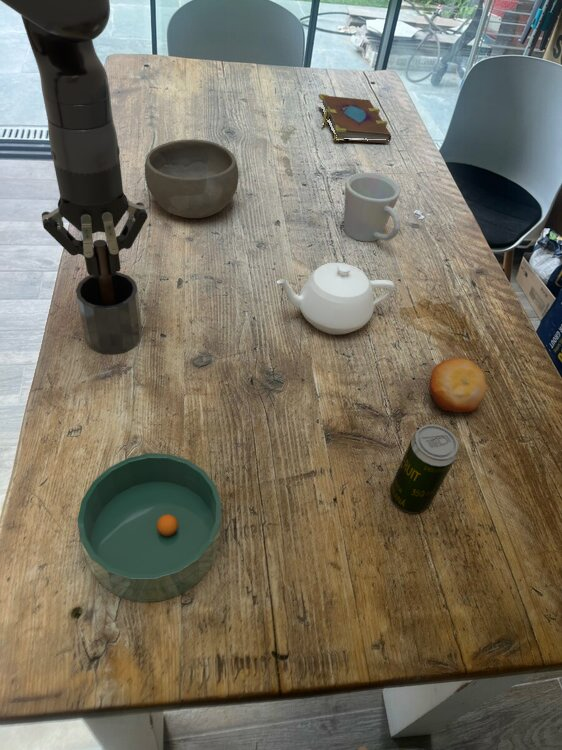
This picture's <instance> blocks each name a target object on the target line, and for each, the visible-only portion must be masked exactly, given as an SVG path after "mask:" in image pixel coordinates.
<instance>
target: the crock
mask: <svg viewBox="0 0 562 750" xmlns="http://www.w3.org/2000/svg"><path fill="white" fill-rule="evenodd" d="M116 274H117V276H112V283H113V290H114V297H115V304H116V305H112V306H103V304H102V297H101V291H100V285H99V279H98V278H94V276H93V275H89V274H88V275H87V276H86V277H84V278H83V279H82V280H81V281H79V282H78V284H77V286H76V288H75V295H76V299H77V305H78V309H79V315H80V319H81V325H82V329H83V335H84V340H85V343H86V344H87V346H88V347H89V348H90V349H91V350H93V351H95V352H96V353H99V354H103V355H120V354H123V353H127V352H129V351H131V350H132V349H134V348H135V347H137V346H138V344H139V343H140V342H141V339H142V335H143V327H142V318H141V309H140V299H139V298H140V297H139V291H138V286H137V285H138V284H137V283H136V281H135V280H134V279H133V278H132V277H131V276H130V275H127V274H125V273H122V272H120V271H118V272H116Z"/></svg>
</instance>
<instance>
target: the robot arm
mask: <svg viewBox="0 0 562 750" xmlns="http://www.w3.org/2000/svg"><path fill="white" fill-rule="evenodd" d="M0 2H1V3H3V4H5V5H6V6H7V7H9V8H10V9H11V10H13V11H15V12H16V13H18V14H19V15H20V16H21V20H22V23H23V26H24V29H25V33H26V37H27V39H28V43H29V45H30V48H31V51H32V54H33V57H34V59H35V62H36V65H37V69H38V73H39V79H40V86H41V92H42V93H41V94H42V98H43V103H44V108H45V113H46V119H47V131H48V132H47V133H48V140H49V147H50V156H51V158H52V162H53V167H54V173H55V177H56V181H57V182H56V183H57V186H58V193H59V199H58V202H57V208H55V209H54V210H52V211H43V212H42V213H41V222H42V226H43V230H45V231H46V232H47V233H48V234H49V235H50V236H51V237H52V238H53V239H54V240H55V241H56V242H57V243H58V244H59V245H60V246H61V247H62V248H63V249H64V250H65V251H66V252H67V253H68V254H69V255H71V256H73V257H74V256H77V255H82V256H83V257H84V261H85V268H86V272H87V274H88V276H89V275H93V276H94V278H99V273H98V267H97V261H96V256H95V253H94V248H93V242H94V239H93V234H96V233H104V235H105V239H106V240H105V241H106V242H107V247H108V257H109V264H110V271H111V276H117V274H116V272H120V271H121V269H122V268H121V260H120V251H121V250H124V249H125V250H129V249H131V248H132V247H133V244H134V243H135V241H136V239H137V237H138V236H139V234H140V232H141V230H142V228H143V226H144V224H146V223H145V222H146V221H147V219H148V212H147V209H146V207H145V204H144V203H143V202H140V201H139V202H136V203H134V202H131V201H129V199H128V197H127V196H126V194H125V193H124V187H123V179H122V178H123V177H122V170H121V169H122V168H121V160H120V158H121V157H120V153H121V150H120V146H119V142H118V135H117V134H118V133H117V130H116V126H115V122H114V115H113V108H112V100H111V90H110V82H109V77H108V74H107V71H106V69H105V66H104V65H103V63H102V61H101V60H100V58H99V56H98V54H97V52H96V49H95V45H94V41H93V40H95V39H97V38H98V37H100V35H102V34H103V32H104V31H105V30H106V27H107V25H108V22H109V21H110V14H111V3H110V2H111V1H110V0H0ZM125 214H126V216H127V219H126V221H125V223H124V225H123V227H122V229H121V231H120V233H119V235H116V233H117V232H116V230H115V228H117V226H118V225H119V223H120V221H121V220H122V219H123V217H124V216H125ZM63 218H64V219H65V220H66V221H68V223H69V224H70V225H72V226H73V227H74V228H76V229H77V230H78V231H79V233H80V240H79V239H76V238H75V237H74V235H72V233H70V231H69V230H67V228H66V227H65V226H64V225H65V224H64V219H63Z"/></svg>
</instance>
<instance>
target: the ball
mask: <svg viewBox="0 0 562 750" xmlns="http://www.w3.org/2000/svg"><path fill="white" fill-rule="evenodd" d="M177 528H178V522H177V519H176V518H175V517H174V516H172V515H168V514H167V515H163V516H162V517H160V518H159V520H158V522H157V530H158V532H159V533H160V534H161V535H163V536H170V535H172V534H174V533H175V532H176V530H177Z"/></svg>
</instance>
